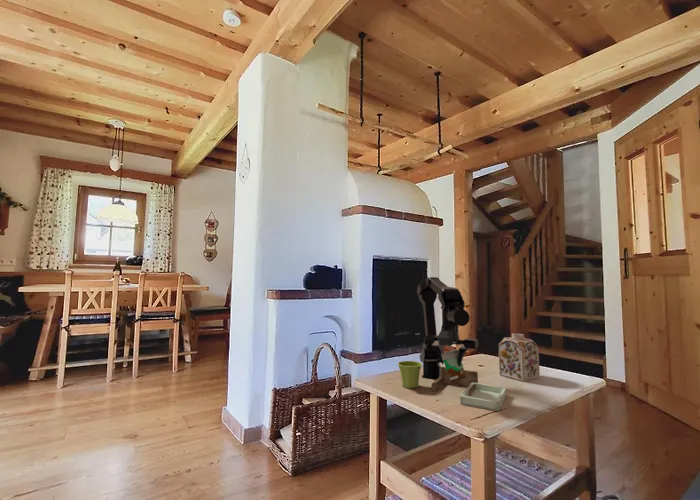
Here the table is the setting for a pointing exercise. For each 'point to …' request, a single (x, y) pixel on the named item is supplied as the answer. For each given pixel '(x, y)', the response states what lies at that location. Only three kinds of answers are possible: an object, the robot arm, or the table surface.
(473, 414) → the table surface
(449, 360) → the food container
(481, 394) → the tray
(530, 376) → the decorative jar
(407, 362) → the plant pot
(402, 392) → the table surface
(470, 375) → the wooden pieces
